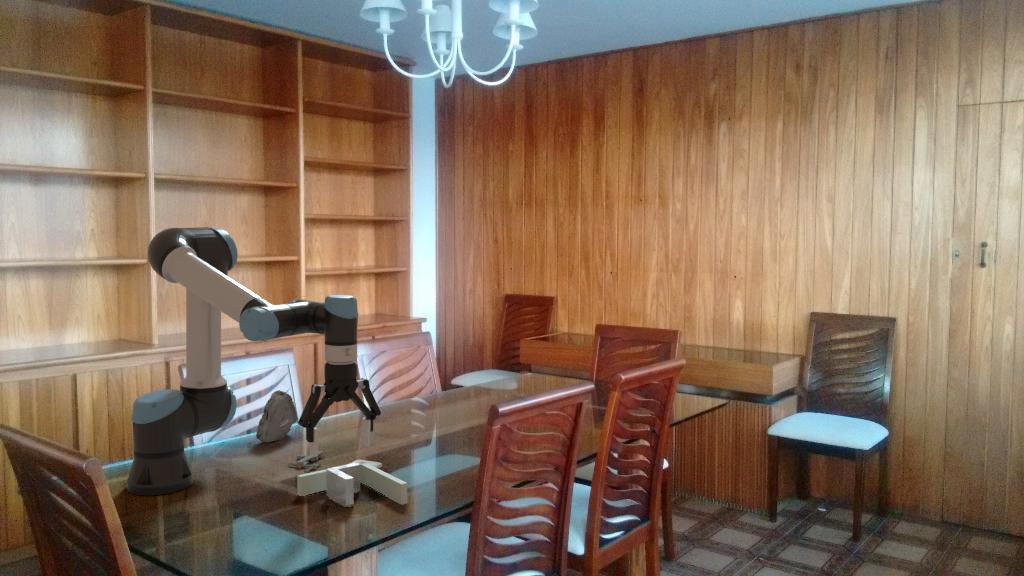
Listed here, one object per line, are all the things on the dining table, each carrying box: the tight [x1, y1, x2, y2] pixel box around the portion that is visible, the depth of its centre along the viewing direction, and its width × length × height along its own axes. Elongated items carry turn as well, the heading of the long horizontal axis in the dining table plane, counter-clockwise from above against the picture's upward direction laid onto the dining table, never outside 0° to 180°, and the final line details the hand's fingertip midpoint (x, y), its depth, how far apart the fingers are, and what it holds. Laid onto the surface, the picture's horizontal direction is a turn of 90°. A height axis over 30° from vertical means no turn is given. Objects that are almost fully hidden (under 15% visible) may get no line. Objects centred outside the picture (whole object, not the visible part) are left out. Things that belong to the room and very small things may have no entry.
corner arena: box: [296, 462, 408, 506], centre depth 193 cm, size 18×21×5 cm
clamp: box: [287, 450, 325, 474], centre depth 220 cm, size 15×2×10 cm
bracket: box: [325, 463, 361, 506], centre depth 193 cm, size 10×8×7 cm
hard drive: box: [348, 459, 383, 469], centre depth 215 cm, size 2×8×12 cm
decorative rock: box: [255, 389, 299, 443], centre depth 243 cm, size 16×7×15 cm, turn 158°
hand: (340, 450), depth 189 cm, fingers open, 13 cm apart
